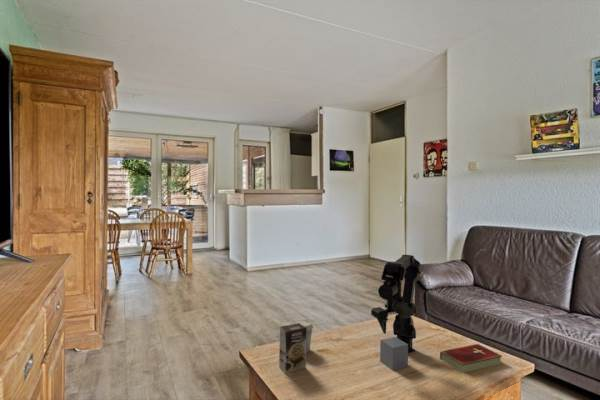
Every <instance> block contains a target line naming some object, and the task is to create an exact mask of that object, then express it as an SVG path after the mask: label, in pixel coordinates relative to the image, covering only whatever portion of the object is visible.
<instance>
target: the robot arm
mask: <svg viewBox="0 0 600 400" xmlns="http://www.w3.org/2000/svg"><path fill="white" fill-rule="evenodd" d="M422 272H423V268H422V265H421V262H420V261H419V260H417V259H416V257H415V256H414V255H411V254H402V255H401V257H399V258H398V259H396V260H395V261H387V262H386V263H385V265H384V266H383V271H382V275H381V281H383V283H382V284H381V285H379V288H378V290H377V291H378V295H379V297H380V298H381V299H382V300H385V301H386V303H385V304H384V308H382V307H380V306H378V307H373V308H372V309H371V311H370V313H371V314H370V315H371V316H373V318H376V320H377V322H378V324H379V326H380V328H381V331H382V333H383V334H385V335H386V333H387V321H389V318H388V317H389V315H390V314H391V315H392V314H395V316H394V321H393V323H392V330H393V335H394V336H396V338H398V339H400V340H401V341H403V342H405V343H406V344H408V353H411V352H412V353H413V352H415V351H416V349H415V348H413V340H414V339H416V338H417V330H416V327H415V326H414V319H413V317H412V316H414V314H417V307H416V305H415V303H414V302H413V301H414V293H415V288H416V287H415V285H416V283H417V282H418V281H419V280H420V276H421V274H422ZM403 281H404V284H403V283H402V282H403ZM402 285H403V290H402ZM385 308H386V309H385ZM396 313H397V314H396Z"/></svg>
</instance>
